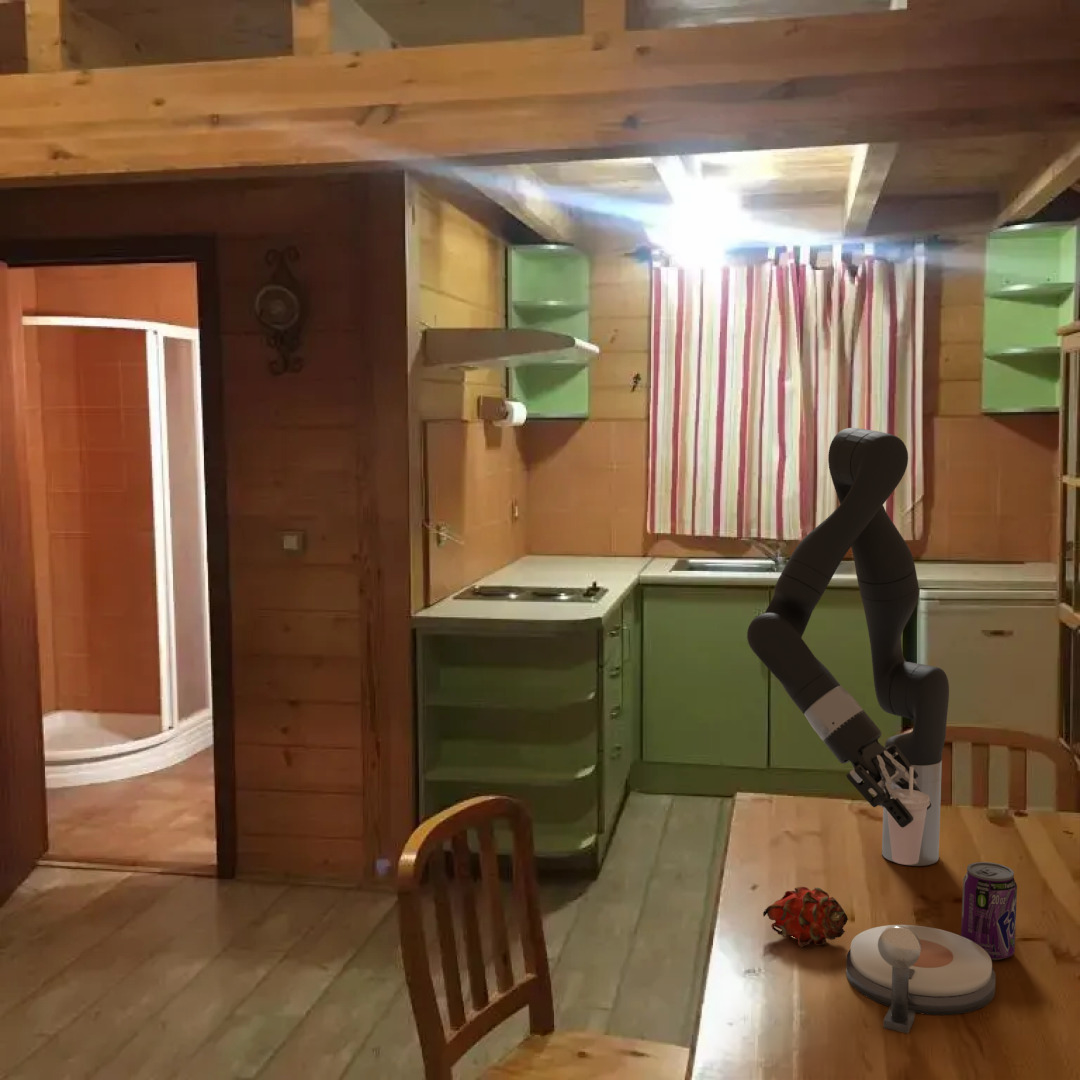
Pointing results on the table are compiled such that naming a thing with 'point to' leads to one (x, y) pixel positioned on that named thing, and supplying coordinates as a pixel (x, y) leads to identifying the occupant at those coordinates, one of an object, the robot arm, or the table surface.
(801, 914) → the dragon fruit
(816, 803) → the table surface
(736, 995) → the table surface
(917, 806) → the smoothie
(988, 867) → the beverage can
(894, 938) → the stand
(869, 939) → the turntable
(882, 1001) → the base
